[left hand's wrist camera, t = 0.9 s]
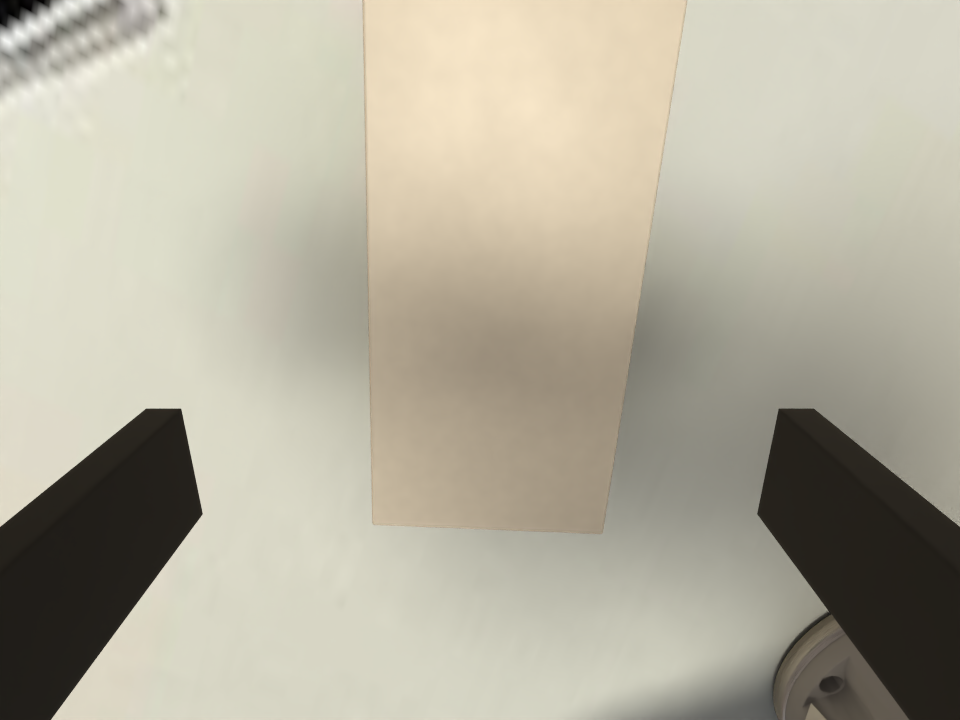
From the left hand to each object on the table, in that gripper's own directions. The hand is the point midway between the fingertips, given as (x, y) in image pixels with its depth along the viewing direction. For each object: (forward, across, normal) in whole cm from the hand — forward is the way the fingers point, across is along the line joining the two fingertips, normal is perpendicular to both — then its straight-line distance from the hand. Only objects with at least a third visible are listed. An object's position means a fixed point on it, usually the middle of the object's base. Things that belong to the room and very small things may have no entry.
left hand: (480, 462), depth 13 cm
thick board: (+16, -2, -24) cm, 29 cm away
